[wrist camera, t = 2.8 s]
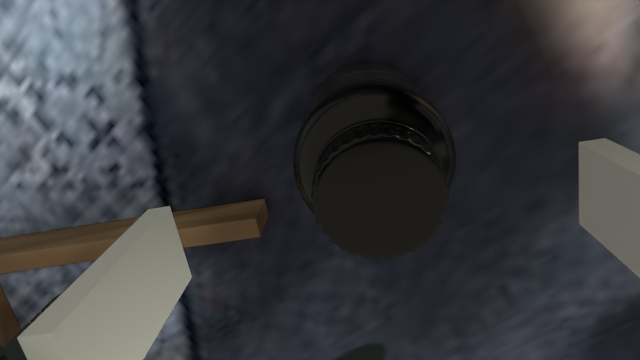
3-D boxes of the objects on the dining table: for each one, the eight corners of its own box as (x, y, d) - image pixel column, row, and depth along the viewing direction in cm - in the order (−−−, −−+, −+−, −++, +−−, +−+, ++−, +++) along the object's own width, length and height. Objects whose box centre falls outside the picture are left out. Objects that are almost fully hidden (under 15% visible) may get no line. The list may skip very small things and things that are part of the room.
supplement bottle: (289, 147, 28) (248, 237, 17) (338, 39, 26) (329, 61, 14) (391, 194, 29) (418, 312, 17) (448, 93, 26) (521, 153, 15)
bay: (-48, 245, 32) (-117, 285, 27) (264, 198, 29) (248, 233, 25) (46, 436, 37) (2, 497, 33) (315, 411, 35) (310, 473, 30)
